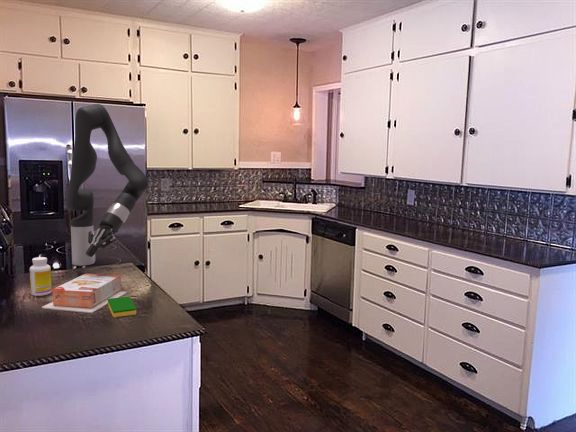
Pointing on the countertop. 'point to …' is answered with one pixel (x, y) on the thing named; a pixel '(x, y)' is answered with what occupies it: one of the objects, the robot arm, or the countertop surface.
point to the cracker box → (86, 290)
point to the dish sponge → (121, 306)
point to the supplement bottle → (40, 277)
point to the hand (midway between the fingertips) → (88, 255)
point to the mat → (84, 309)
